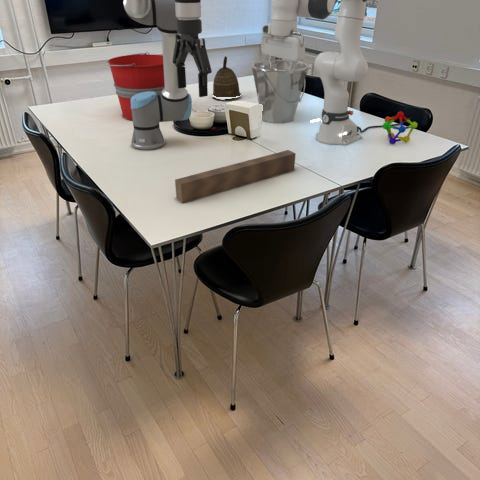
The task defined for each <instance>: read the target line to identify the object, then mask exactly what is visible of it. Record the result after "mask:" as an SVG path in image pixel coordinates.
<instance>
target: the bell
mask: <svg viewBox="0 0 480 480" xmlns="http://www.w3.org/2000/svg"><path fill="white" fill-rule="evenodd" d="M227 63H228V57H227V56H224V58H223V63H222V67H221V68H219V69H218V70H217V71H216V73H215V75H214V78H213V81H212V83H213V84H212V95H214V96H216V97H236V96H240V95H241V96H242V93H241V92H240V83H239V80H238V79H239V78H238V77H237V75H236V73H235V72H234V70H232V69H231V68H230V67H227Z"/></svg>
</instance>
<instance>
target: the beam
mask: <svg viewBox="0 0 480 480" xmlns="http://www.w3.org/2000/svg"><path fill="white" fill-rule="evenodd" d="M295 164H296V152H294V151H291V150H289V149H286V150H282V151H279V152H275V153H271V154H267V155H263V156H260V157H255V158H252V159H248V160H244V161H240V162H237V163H233V164H228V165H226V166H221V167H217V168H213V169H210V170H207V171H202V172H199V173H195V174H190V175H187V176H183V177H180V178H179V177H178V178H176V179H174V184H175V196H176V197H175V198H176V199H177V200H178V201H179V202H180V203H182V204H184V203H188V202H191V201H195V200H199V199H201V198H206V197H208V196H211V195H215V194H219V193H221V192H226V191H229V190H232V189H236V188H239V187H242V186H247V185H248V184H249V185H250V184H253V183H256V182H259V181H263V180H266V179H270V178H273V177H277V176H279V175H284V174H286V173H290V172H293V171H295V167H296V165H295Z"/></svg>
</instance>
